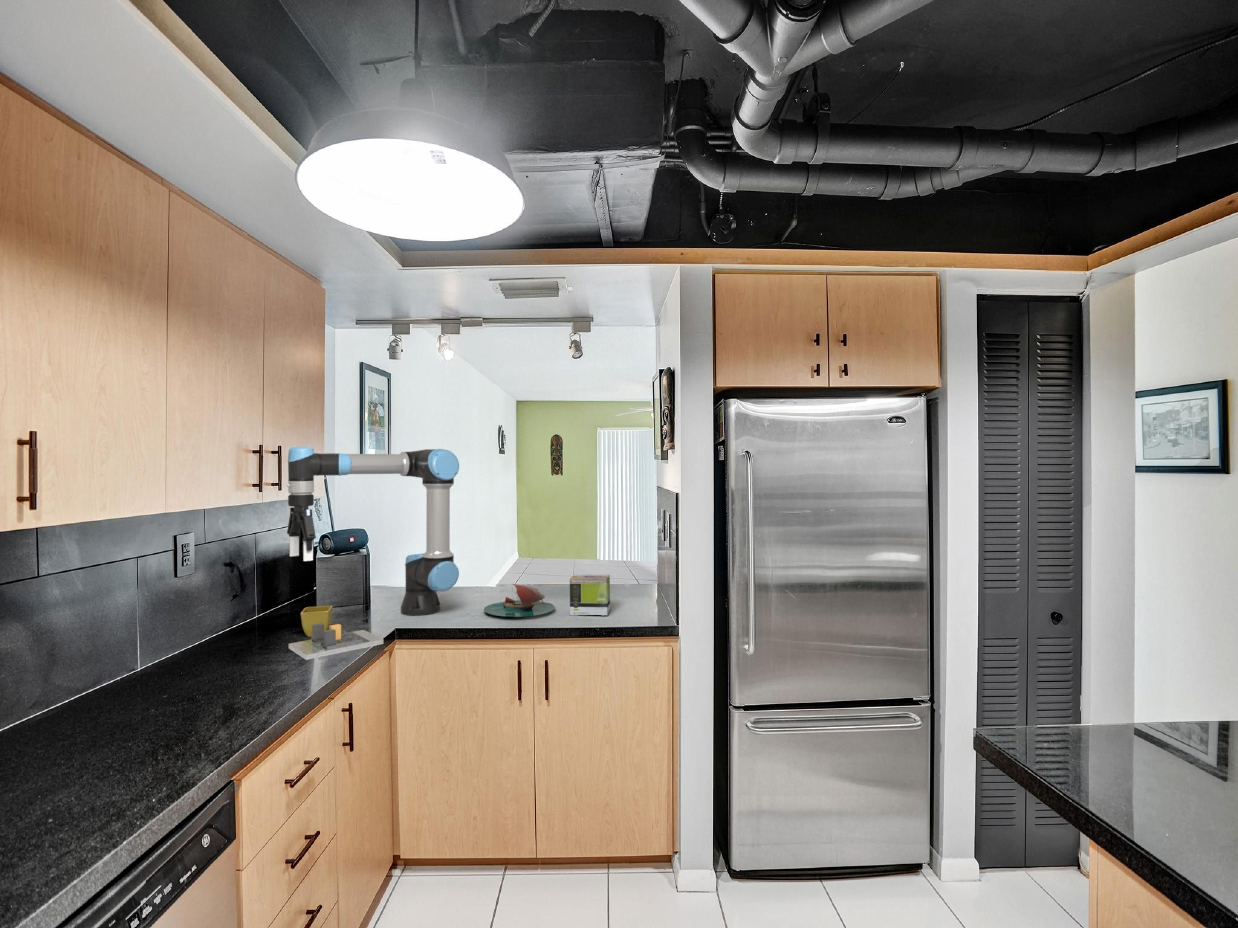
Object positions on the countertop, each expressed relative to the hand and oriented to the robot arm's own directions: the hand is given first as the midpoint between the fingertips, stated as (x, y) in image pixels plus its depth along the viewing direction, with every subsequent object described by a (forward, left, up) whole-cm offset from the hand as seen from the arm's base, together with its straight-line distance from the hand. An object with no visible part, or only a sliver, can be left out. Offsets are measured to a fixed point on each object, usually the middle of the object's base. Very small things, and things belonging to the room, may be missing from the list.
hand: (300, 558), depth 207 cm
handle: (-3, +17, -26) cm, 31 cm away
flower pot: (-7, -6, -28) cm, 30 cm away
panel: (-7, +12, -28) cm, 31 cm away
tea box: (-96, +36, -28) cm, 106 cm away
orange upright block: (-7, +12, -26) cm, 29 cm away
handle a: (-3, +7, -26) cm, 27 cm away
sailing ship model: (-77, +15, -28) cm, 83 cm away
